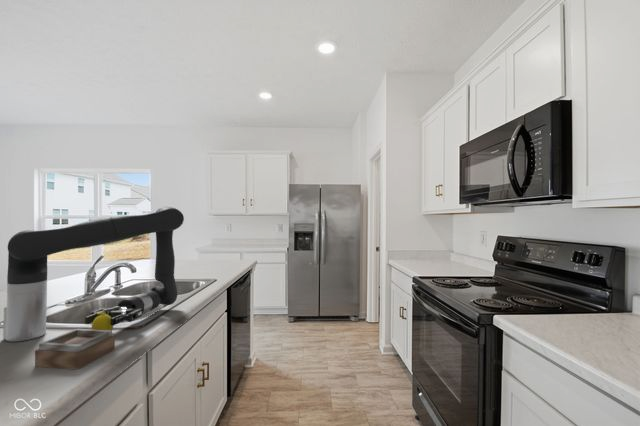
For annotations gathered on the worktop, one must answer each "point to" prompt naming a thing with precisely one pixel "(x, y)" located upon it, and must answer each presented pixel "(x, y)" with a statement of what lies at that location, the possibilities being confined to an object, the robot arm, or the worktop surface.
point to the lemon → (102, 323)
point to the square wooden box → (74, 348)
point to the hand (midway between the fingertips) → (98, 321)
